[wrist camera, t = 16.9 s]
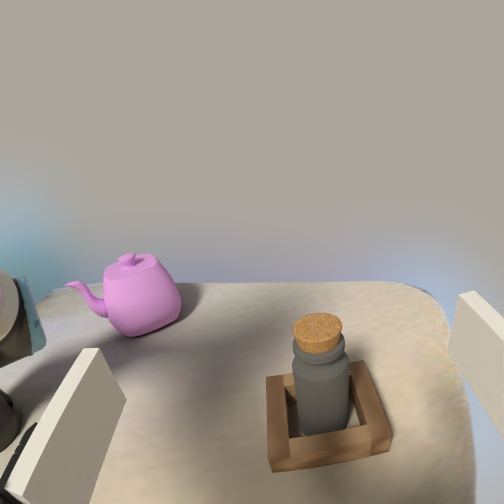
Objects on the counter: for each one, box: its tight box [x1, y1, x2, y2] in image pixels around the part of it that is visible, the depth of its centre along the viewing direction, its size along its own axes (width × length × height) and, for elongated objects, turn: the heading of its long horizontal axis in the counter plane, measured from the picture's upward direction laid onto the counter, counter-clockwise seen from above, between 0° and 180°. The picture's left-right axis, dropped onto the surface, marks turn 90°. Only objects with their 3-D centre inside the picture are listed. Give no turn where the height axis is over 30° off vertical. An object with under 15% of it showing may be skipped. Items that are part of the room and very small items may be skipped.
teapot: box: [65, 253, 181, 337], centre depth 65 cm, size 23×21×15 cm
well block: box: [266, 360, 392, 473], centre depth 34 cm, size 13×13×4 cm
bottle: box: [292, 313, 349, 436], centre depth 32 cm, size 6×6×15 cm
